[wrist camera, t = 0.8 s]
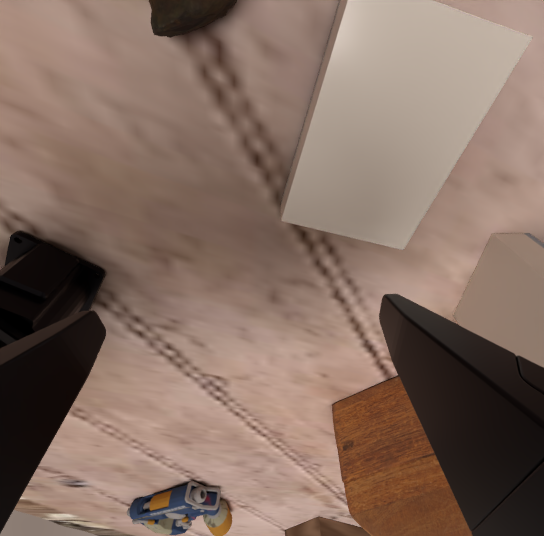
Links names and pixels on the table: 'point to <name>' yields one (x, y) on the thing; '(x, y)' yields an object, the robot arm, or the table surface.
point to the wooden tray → (325, 529)
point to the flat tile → (393, 115)
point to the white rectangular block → (508, 296)
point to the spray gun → (182, 510)
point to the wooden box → (392, 467)
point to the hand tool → (185, 15)
